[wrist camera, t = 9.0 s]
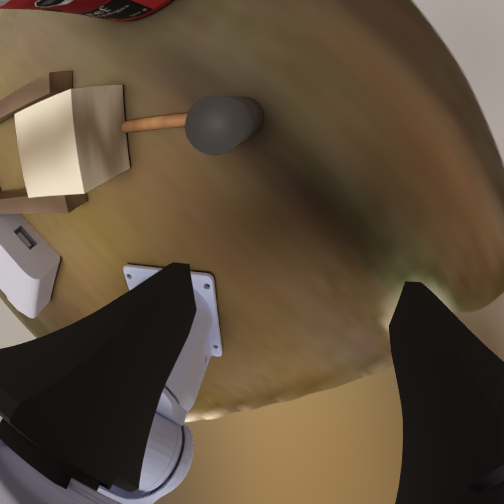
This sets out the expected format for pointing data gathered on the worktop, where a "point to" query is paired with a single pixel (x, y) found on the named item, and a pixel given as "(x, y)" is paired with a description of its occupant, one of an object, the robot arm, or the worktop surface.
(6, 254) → the charger
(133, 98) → the worktop surface
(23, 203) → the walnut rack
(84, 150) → the cream grey uneven dumbbell
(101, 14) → the canned food
